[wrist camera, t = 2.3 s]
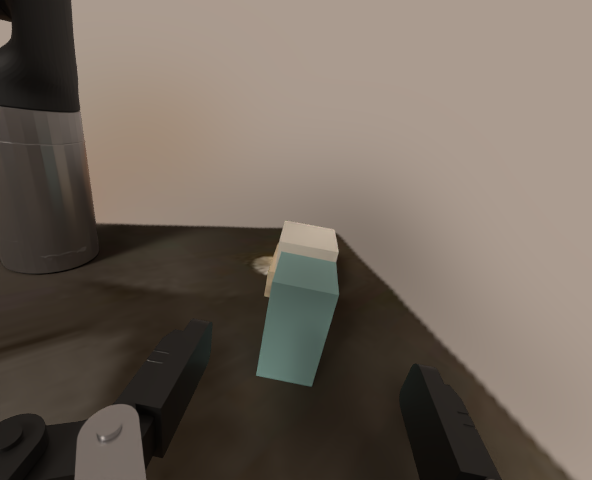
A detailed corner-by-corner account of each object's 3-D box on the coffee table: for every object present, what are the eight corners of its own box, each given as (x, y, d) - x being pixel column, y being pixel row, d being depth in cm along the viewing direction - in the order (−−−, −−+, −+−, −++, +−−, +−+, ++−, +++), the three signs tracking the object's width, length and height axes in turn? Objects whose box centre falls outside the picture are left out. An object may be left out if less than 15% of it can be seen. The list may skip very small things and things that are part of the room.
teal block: (256, 375, 24) (272, 281, 20) (266, 334, 29) (281, 251, 25) (311, 386, 24) (339, 295, 20) (313, 344, 29) (336, 262, 25)
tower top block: (274, 270, 34) (279, 241, 32) (280, 245, 40) (285, 220, 38) (330, 280, 34) (338, 252, 32) (328, 254, 40) (334, 229, 38)
